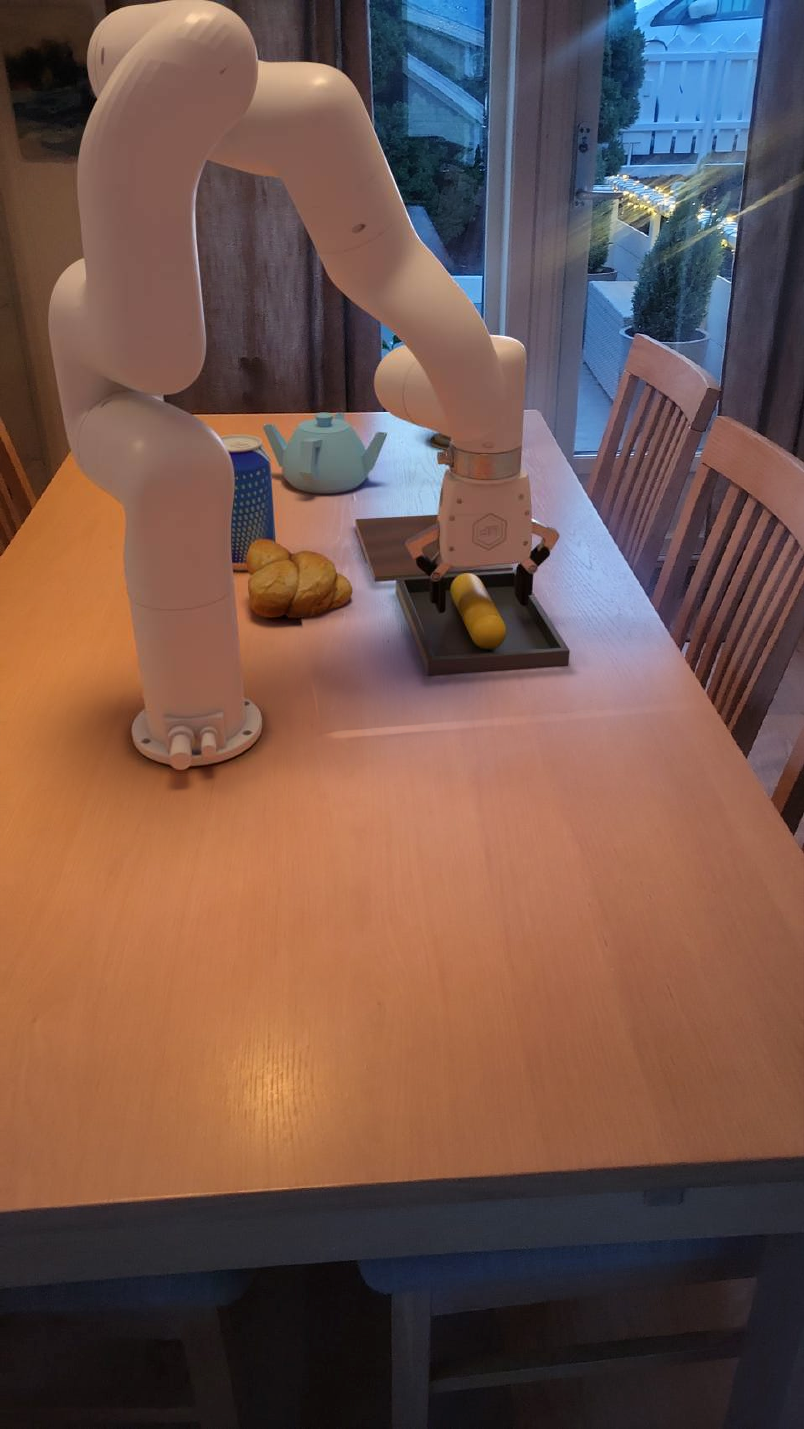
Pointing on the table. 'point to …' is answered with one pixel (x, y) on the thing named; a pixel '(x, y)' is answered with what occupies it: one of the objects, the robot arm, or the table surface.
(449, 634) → the tray
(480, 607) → the yellow capsule pill
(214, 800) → the table surface
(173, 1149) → the table surface
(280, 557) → the bread roll
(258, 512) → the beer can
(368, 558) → the board
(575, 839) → the table surface
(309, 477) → the teapot
